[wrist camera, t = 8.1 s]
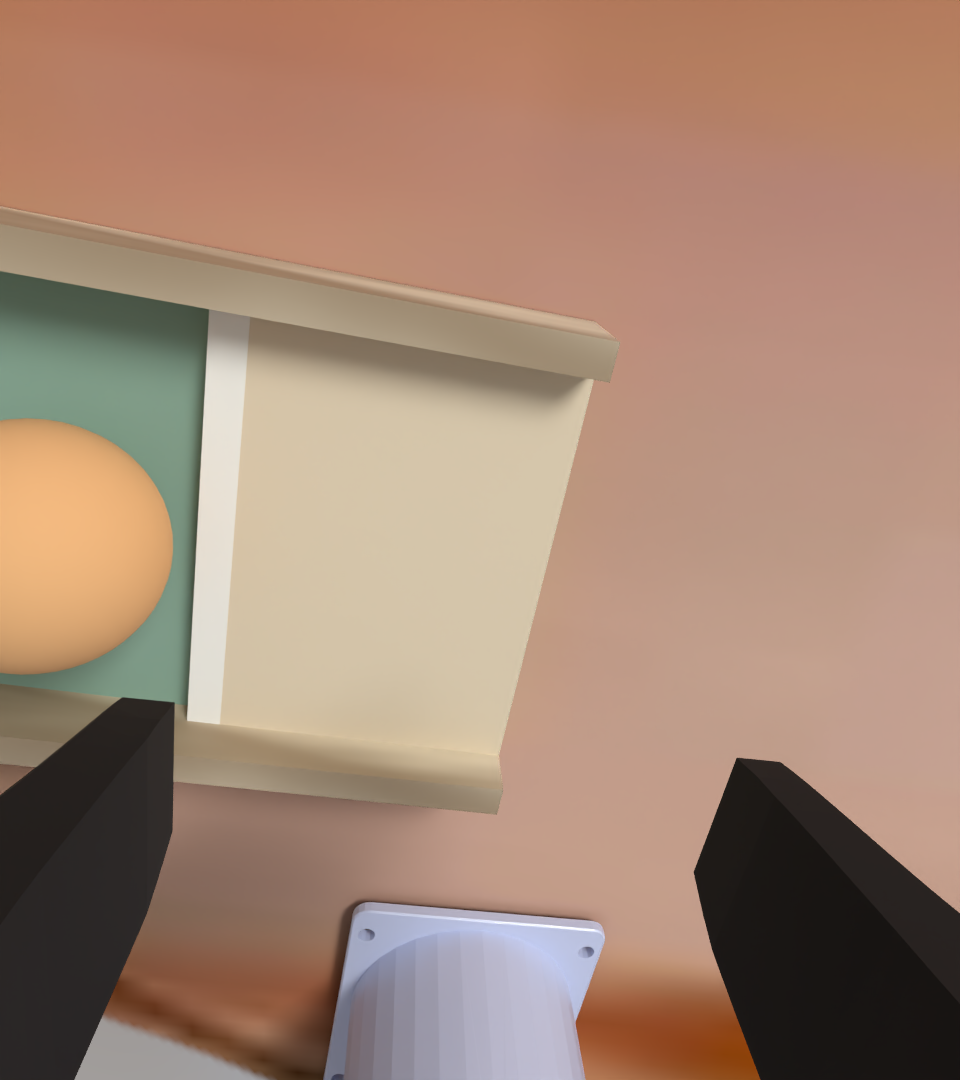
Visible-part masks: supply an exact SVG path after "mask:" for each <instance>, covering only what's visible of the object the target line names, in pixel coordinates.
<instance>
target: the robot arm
mask: <svg viewBox="0 0 960 1080" xmlns="http://www.w3.org/2000/svg"><path fill="white" fill-rule="evenodd" d="M174 718H175V702H167V701H156V700H146V699H136V698H126V697H122V698H121V699H119V700H118V701H116V702H115V703H114V704H112V705H111V706H110V707H109V708H107V709H106V710H105V711H104V712H102V713H101V714H100V715H99V716H97V717H96V718H95V719H94V720H93V721H91V722H90V723H89V724H88V725H87V726H85V727H84V728H83V729H82V730H81V731H79V732H78V733H77V734H76V735H75V736H73V737H72V738H71V739H70V740H69V741H67V742H66V743H65V744H64V745H63V746H61V747H60V748H59V749H58V750H56V751H55V752H54V753H53V754H52V755H50V756H49V757H48V758H47V759H45V760H44V761H43V762H42V763H41V764H39V765H38V766H37V767H36V768H34V769H33V770H32V771H31V772H29V773H28V774H27V775H26V776H24V777H23V778H22V779H20V780H19V781H18V782H17V783H15V784H14V785H13V786H11V787H10V788H9V789H8V790H6V791H5V792H4V793H2V794H1V795H0V1080H74V1079H75V1076H76V1075H77V1072H78V1070H79V1068H80V1065H81V1063H82V1061H83V1058H84V1056H85V1054H86V1051H87V1049H88V1047H89V1045H90V1043H91V1040H92V1038H93V1036H94V1034H95V1031H96V1029H97V1027H98V1024H99V1022H100V1020H101V1018H102V1015H103V1013H104V1011H105V1009H106V1006H107V1004H108V1002H109V999H110V997H111V995H112V993H113V990H114V988H115V986H116V984H117V981H118V979H119V977H120V974H121V972H122V970H123V967H124V965H125V963H126V961H127V958H128V956H129V954H130V951H131V949H132V947H133V944H134V942H135V940H136V938H137V935H138V933H139V931H140V928H141V926H142V924H143V921H144V919H145V916H146V914H147V911H148V908H149V905H150V902H151V899H152V896H153V893H154V890H155V886H156V883H157V880H158V877H159V874H160V870H161V867H162V864H163V861H164V857H165V854H166V851H167V847H168V844H169V841H170V837H171V834H172V823H173V771H174ZM694 875H695V880H696V884H697V889H698V893H699V898H700V902H701V907H702V911H703V916H704V920H705V923H706V927H707V931H708V935H709V939H710V943H711V947H712V950H713V953H714V956H715V959H716V962H717V964H718V967H719V970H720V973H721V976H722V978H723V981H724V984H725V986H726V989H727V992H728V994H729V997H730V1000H731V1003H732V1005H733V1008H734V1011H735V1013H736V1016H737V1019H738V1021H739V1024H740V1027H741V1029H742V1032H743V1034H744V1037H745V1040H746V1042H747V1045H748V1048H749V1050H750V1053H751V1056H752V1058H753V1061H754V1063H755V1066H756V1069H757V1071H758V1074H759V1077H760V1079H761V1080H960V913H959V912H957V911H956V910H955V909H954V908H953V907H951V906H950V905H949V904H948V903H946V902H945V901H944V900H943V899H942V898H940V897H939V896H938V895H937V894H936V893H934V892H933V891H932V890H931V889H930V888H928V887H927V886H926V885H925V884H924V883H923V882H921V881H920V880H919V879H918V878H917V877H915V876H914V875H913V874H912V873H911V872H910V871H908V870H907V869H906V868H905V867H904V866H903V865H901V864H900V863H899V862H898V861H897V860H896V859H894V858H893V857H892V856H891V855H890V854H889V853H887V852H886V851H885V850H884V849H883V848H882V847H881V846H879V845H878V844H877V843H876V842H875V841H874V840H872V839H871V838H870V837H869V836H868V835H867V834H866V833H864V832H863V831H862V830H861V829H860V828H859V827H858V826H856V825H855V824H854V823H853V822H852V821H851V820H849V819H848V818H847V817H846V816H845V815H844V814H843V813H841V812H840V811H839V810H838V809H837V808H836V807H835V806H833V805H832V804H831V803H830V802H829V801H828V800H826V799H825V798H824V797H823V796H822V795H821V794H819V793H818V792H817V791H816V790H815V789H813V788H812V787H811V786H810V785H809V784H807V783H806V782H805V781H804V780H803V779H801V778H800V777H799V776H798V775H796V774H795V773H794V772H793V771H791V770H790V769H789V768H787V767H786V766H785V765H783V764H782V763H781V762H774V761H764V760H754V759H744V758H737V759H736V761H735V764H734V767H733V769H732V772H731V775H730V777H729V780H728V783H727V785H726V788H725V791H724V793H723V796H722V799H721V801H720V804H719V807H718V809H717V812H716V814H715V817H714V820H713V822H712V825H711V828H710V830H709V833H708V836H707V838H706V841H705V844H704V846H703V849H702V852H701V854H700V857H699V860H698V862H697V865H696V868H695V870H694ZM364 929H370V930H364ZM604 942H605V935H604V931H603V928H602V926H601V925H600V924H599V923H597V922H594V921H589V920H577V919H565V918H553V917H542V916H530V915H518V914H506V913H495V912H483V911H471V910H459V909H448V908H436V907H424V906H412V905H401V904H389V903H377V902H365V903H362V904H360V905H358V906H357V907H356V908H355V909H354V911H353V915H352V921H351V927H350V932H349V938H348V943H347V949H346V955H345V960H344V966H343V971H342V977H341V983H340V988H339V994H338V999H337V1005H336V1011H335V1016H334V1022H333V1028H332V1033H331V1039H330V1044H329V1050H328V1056H327V1061H326V1067H325V1072H324V1078H323V1080H585V1075H584V1069H583V1064H582V1058H581V1052H580V1047H579V1041H578V1036H577V1030H576V1025H575V1022H576V1019H577V1016H578V1013H579V1011H580V1008H581V1005H582V1002H583V1000H584V997H585V994H586V991H587V989H588V986H589V983H590V980H591V978H592V975H593V972H594V969H595V967H596V964H597V961H598V958H599V956H600V953H601V950H602V947H603V945H604Z"/></svg>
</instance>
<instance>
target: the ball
mask: <svg viewBox="0 0 960 1080" xmlns="http://www.w3.org/2000/svg"><path fill="white" fill-rule="evenodd" d="M172 556H173V533H172V528H171V523H170V518H169V515H168V511H167V509H166V506H165V503H164V500H163V498H162V496H161V495H160V493H159V491H158V489H157V487H156V486H155V484H154V482H153V481H152V479H151V478H150V477H149V475H148V474H147V473H146V471H145V470H144V469H143V468H142V467H141V466H140V465H139V464H138V463H137V462H136V461H135V460H134V459H133V458H132V457H131V456H130V455H129V454H127V453H126V452H125V451H124V450H122V449H121V448H120V447H118V446H117V445H116V444H114V443H112V442H111V441H109V440H107V439H105V438H104V437H102V436H100V435H98V434H95V433H93V432H90V431H88V430H86V429H83V428H81V427H78V426H75V425H71V424H68V423H64V422H59V421H53V420H47V419H31V418H22V419H7V420H1V421H0V673H5V674H19V675H26V674H42V673H50V672H57V671H61V670H65V669H70V668H73V667H76V666H79V665H82V664H85V663H87V662H90V661H92V660H94V659H96V658H99V657H101V656H102V655H104V654H106V653H108V652H109V651H111V650H113V649H114V648H115V647H117V646H118V645H120V644H121V643H123V642H124V641H125V640H126V639H127V638H128V637H130V636H131V635H132V634H133V633H134V632H135V631H136V630H137V629H138V628H139V627H140V626H141V625H142V624H143V623H144V622H145V621H146V619H147V618H148V617H149V615H150V614H151V613H152V611H153V610H154V608H155V607H156V605H157V603H158V601H159V600H160V598H161V595H162V593H163V591H164V588H165V586H166V583H167V581H168V577H169V574H170V570H171V565H172Z"/></svg>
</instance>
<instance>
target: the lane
mask: <svg viewBox="0 0 960 1080" xmlns="http://www.w3.org/2000/svg"><path fill="white" fill-rule="evenodd" d="M593 381H594V380H593V379H587V378H582V377H576V376H571V375H565V374H560V373H554V372H549V371H544V370H538V369H533V368H527V367H522V366H516V365H511V364H505V363H500V362H494V361H489V360H483V359H478V358H473V357H467V356H462V355H456V354H451V353H445V352H440V351H434V350H429V349H423V348H418V347H412V346H407V345H402V344H396V343H391V342H385V341H380V340H374V339H369V338H363V337H358V336H352V335H347V334H341V333H336V332H331V331H325V330H320V329H314V328H309V327H303V326H298V325H292V324H287V323H281V322H276V321H270V320H265V319H260V318H254V317H249V316H243V315H238V314H232V313H227V312H221V311H216V310H210V309H205V308H199V307H194V306H189V305H183V304H178V303H172V302H167V301H161V300H156V299H150V298H145V297H139V296H134V295H128V294H123V293H118V292H112V291H107V290H101V289H96V288H90V287H85V286H79V285H74V284H68V283H63V282H57V281H52V280H47V279H41V278H36V277H30V276H25V275H19V274H14V273H8V272H3V271H0V421H1V420H7V419H22V418H31V419H47V420H53V421H59V422H64V423H68V424H71V425H75V426H78V427H81V428H83V429H86V430H88V431H90V432H93V433H95V434H98V435H100V436H102V437H104V438H105V439H107V440H109V441H111V442H112V443H114V444H116V445H117V446H118V447H120V448H121V449H122V450H124V451H125V452H126V453H127V454H129V455H130V456H131V457H132V458H133V459H134V460H135V461H136V462H137V463H138V464H139V465H140V466H141V467H142V468H143V469H144V470H145V471H146V473H147V474H148V475H149V477H150V478H151V479H152V481H153V482H154V484H155V486H156V487H157V489H158V491H159V493H160V495H161V496H162V498H163V500H164V503H165V506H166V509H167V511H168V515H169V518H170V523H171V528H172V533H173V556H172V565H171V570H170V574H169V577H168V581H167V583H166V586H165V588H164V591H163V593H162V595H161V598H160V600H159V601H158V603H157V605H156V607H155V608H154V610H153V611H152V613H151V614H150V615H149V617H148V618H147V619H146V621H145V622H144V623H143V624H142V625H141V626H140V627H139V628H138V629H137V630H136V631H135V632H134V633H133V634H132V635H131V636H130V637H128V638H127V639H126V640H125V641H124V642H123V643H121V644H120V645H118V646H117V647H115V648H114V649H113V650H111V651H109V652H108V653H106V654H104V655H102V656H101V657H99V658H96V659H94V660H92V661H90V662H87V663H85V664H82V665H79V666H76V667H73V668H70V669H65V670H61V671H57V672H50V673H42V674H26V675H19V674H5V673H0V684H7V685H16V686H24V687H33V688H42V689H50V690H59V691H68V692H76V693H85V694H94V695H102V696H111V697H120V698H122V697H126V698H136V699H146V700H156V701H167V702H175V704H180V705H188V711H187V721H194V722H203V723H211V724H223V725H231V726H240V727H249V728H258V729H267V730H276V731H284V732H293V733H302V734H311V735H320V736H329V737H338V738H346V739H355V740H364V741H373V742H382V743H391V744H400V745H408V746H417V747H426V748H435V749H444V750H453V751H461V752H470V753H479V754H488V755H497V756H499V752H500V748H501V744H502V741H503V737H504V733H505V729H506V725H507V721H508V717H509V713H510V709H511V705H512V701H513V697H514V693H515V689H516V685H517V681H518V677H519V673H520V669H521V665H522V661H523V658H524V654H525V650H526V646H527V642H528V638H529V634H530V630H531V626H532V622H533V618H534V614H535V610H536V606H537V602H538V598H539V594H540V590H541V586H542V582H543V578H544V575H545V571H546V567H547V563H548V559H549V555H550V551H551V547H552V543H553V539H554V535H555V531H556V527H557V523H558V519H559V515H560V511H561V507H562V503H563V499H564V495H565V491H566V488H567V484H568V480H569V476H570V472H571V468H572V464H573V460H574V456H575V452H576V448H577V444H578V440H579V436H580V432H581V428H582V424H583V420H584V416H585V412H586V408H587V405H588V401H589V397H590V393H591V389H592V385H593Z"/></svg>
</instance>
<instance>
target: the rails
mask: <svg viewBox="0 0 960 1080" xmlns="http://www.w3.org/2000/svg"><path fill="white" fill-rule="evenodd" d="M0 271H3V272H8V273H14V274H19V275H25V276H30V277H36V278H41V279H47V280H52V281H57V282H63V283H68V284H74V285H79V286H85V287H90V288H96V289H101V290H107V291H112V292H118V293H123V294H128V295H134V296H139V297H145V298H150V299H156V300H161V301H167V302H172V303H178V304H183V305H189V306H194V307H199V308H205V309H210V310H216V311H221V312H227V313H232V314H238V315H243V316H249V317H254V318H260V319H265V320H270V321H276V322H281V323H287V324H292V325H298V326H303V327H309V328H314V329H320V330H325V331H331V332H336V333H341V334H347V335H352V336H358V337H363V338H369V339H374V340H380V341H385V342H391V343H396V344H402V345H407V346H412V347H418V348H423V349H429V350H434V351H440V352H445V353H451V354H456V355H462V356H467V357H473V358H478V359H483V360H489V361H494V362H500V363H505V364H511V365H516V366H522V367H527V368H533V369H538V370H544V371H549V372H554V373H560V374H565V375H571V376H576V377H582V378H587V379H593V380H598V381H604V382H609V383H610V380H611V376H612V372H613V368H614V364H615V361H616V357H617V353H618V349H619V345H620V342H619V341H618V340H617V339H616V338H615V337H613V336H612V335H611V334H610V333H608V332H607V331H606V330H605V329H603V328H602V327H601V326H600V325H598V324H597V323H596V322H595V321H589V320H584V319H579V318H574V317H569V316H564V315H558V314H553V313H548V312H543V311H538V310H533V309H527V308H522V307H517V306H512V305H507V304H502V303H496V302H491V301H486V300H481V299H476V298H471V297H466V296H460V295H455V294H450V293H445V292H440V291H435V290H429V289H424V288H419V287H414V286H409V285H404V284H398V283H393V282H388V281H383V280H378V279H373V278H367V277H362V276H357V275H352V274H347V273H342V272H336V271H331V270H326V269H321V268H316V267H311V266H305V265H300V264H295V263H290V262H285V261H280V260H274V259H269V258H264V257H259V256H254V255H249V254H243V253H238V252H233V251H228V250H223V249H218V248H213V247H207V246H202V245H197V244H192V243H187V242H182V241H176V240H171V239H166V238H161V237H156V236H151V235H145V234H140V233H135V232H130V231H125V230H120V229H114V228H109V227H104V226H99V225H94V224H89V223H83V222H78V221H73V220H68V219H63V218H58V217H52V216H47V215H42V214H37V213H32V212H27V211H21V210H16V209H11V208H6V207H1V206H0ZM119 699H121V698H120V697H111V696H102V695H94V694H85V693H76V692H68V691H59V690H50V689H42V688H33V687H24V686H16V685H7V684H0V764H8V765H18V766H28V767H37V766H38V765H39V764H41V763H42V762H43V761H44V760H45V759H47V758H48V757H49V756H50V755H52V754H53V753H54V752H55V751H56V750H58V749H59V748H60V747H61V746H63V745H64V744H65V743H66V742H67V741H69V740H70V739H71V738H72V737H73V736H75V735H76V734H77V733H78V732H79V731H81V730H82V729H83V728H84V727H85V726H87V725H88V724H89V723H90V722H91V721H93V720H94V719H95V718H96V717H97V716H99V715H100V714H101V713H102V712H104V711H105V710H106V709H107V708H109V707H110V706H111V705H112V704H114V703H115V702H116V701H118V700H119ZM187 711H188V705H180V704H175V718H174V771H173V781H174V782H184V783H194V784H203V785H213V786H223V787H233V788H242V789H252V790H262V791H272V792H281V793H291V794H301V795H311V796H320V797H330V798H340V799H350V800H359V801H369V802H379V803H389V804H398V805H408V806H418V807H428V808H438V809H447V810H457V811H467V812H477V813H486V814H496V815H497V812H498V808H499V804H500V800H501V796H502V793H503V785H502V778H501V770H500V762H499V756H497V755H488V754H479V753H470V752H461V751H453V750H444V749H435V748H426V747H417V746H408V745H400V744H391V743H382V742H373V741H364V740H355V739H346V738H338V737H329V736H320V735H311V734H302V733H293V732H284V731H276V730H267V729H258V728H249V727H240V726H231V725H223V724H211V723H203V722H194V721H187Z"/></svg>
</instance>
